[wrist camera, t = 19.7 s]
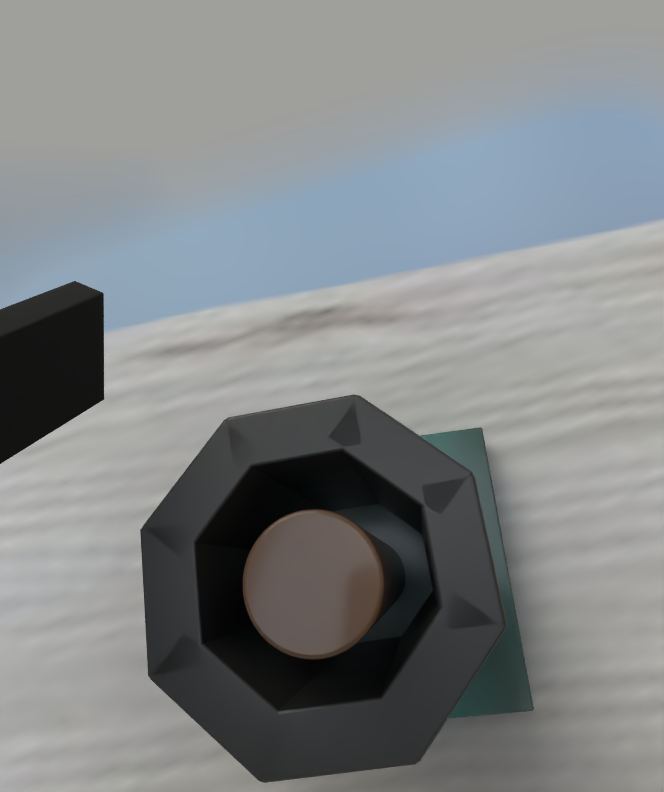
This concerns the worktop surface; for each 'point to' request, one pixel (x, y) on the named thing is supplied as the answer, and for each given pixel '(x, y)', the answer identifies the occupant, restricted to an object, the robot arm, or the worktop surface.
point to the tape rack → (375, 584)
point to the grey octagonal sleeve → (366, 661)
